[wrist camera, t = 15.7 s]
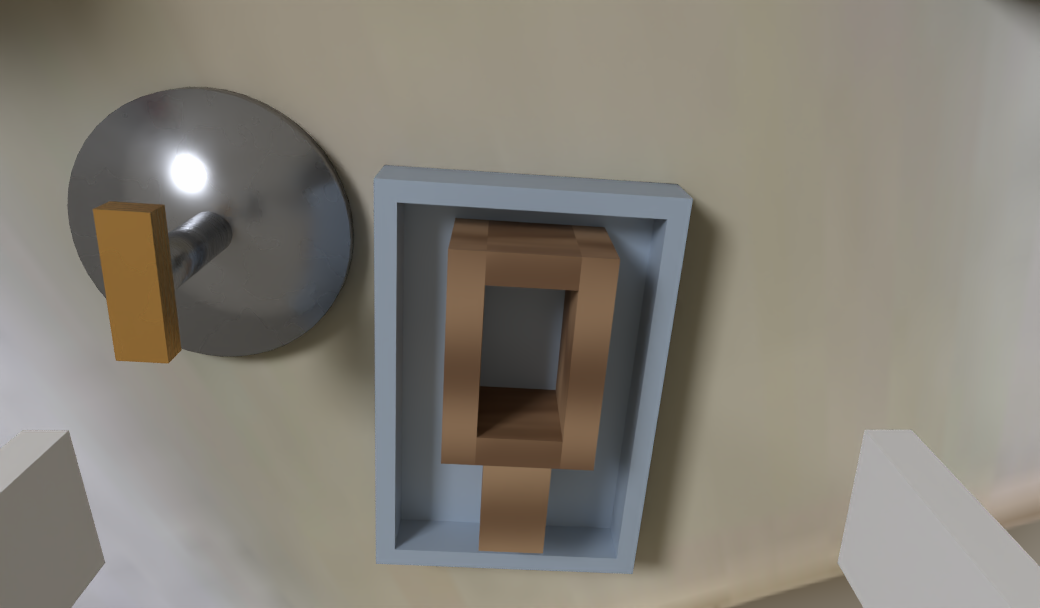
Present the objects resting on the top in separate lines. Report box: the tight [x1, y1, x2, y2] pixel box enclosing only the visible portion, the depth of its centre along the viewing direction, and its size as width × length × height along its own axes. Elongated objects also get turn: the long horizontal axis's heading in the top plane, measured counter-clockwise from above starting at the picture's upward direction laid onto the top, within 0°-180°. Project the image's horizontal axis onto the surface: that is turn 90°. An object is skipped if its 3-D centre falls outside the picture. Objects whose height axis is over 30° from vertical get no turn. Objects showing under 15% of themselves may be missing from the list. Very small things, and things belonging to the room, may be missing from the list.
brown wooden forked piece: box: [441, 218, 620, 554], centre depth 35 cm, size 16×7×5 cm, turn 176°
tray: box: [374, 165, 693, 574], centre depth 37 cm, size 14×21×3 cm, turn 176°
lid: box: [68, 87, 354, 363], centre depth 31 cm, size 13×13×9 cm
